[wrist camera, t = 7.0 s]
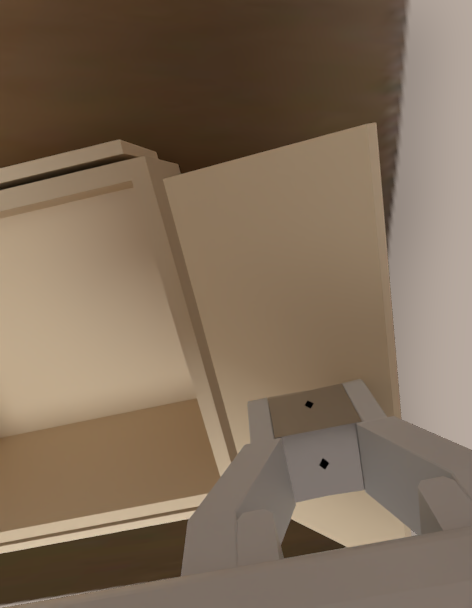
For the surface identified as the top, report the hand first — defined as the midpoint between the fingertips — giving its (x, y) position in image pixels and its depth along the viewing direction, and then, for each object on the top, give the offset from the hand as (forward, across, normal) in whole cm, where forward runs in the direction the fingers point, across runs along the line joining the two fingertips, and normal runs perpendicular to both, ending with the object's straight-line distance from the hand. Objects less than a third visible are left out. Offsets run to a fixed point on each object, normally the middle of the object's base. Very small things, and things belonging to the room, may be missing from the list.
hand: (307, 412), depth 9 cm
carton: (+12, +11, 0) cm, 16 cm away
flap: (+1, 0, 0) cm, 1 cm away
